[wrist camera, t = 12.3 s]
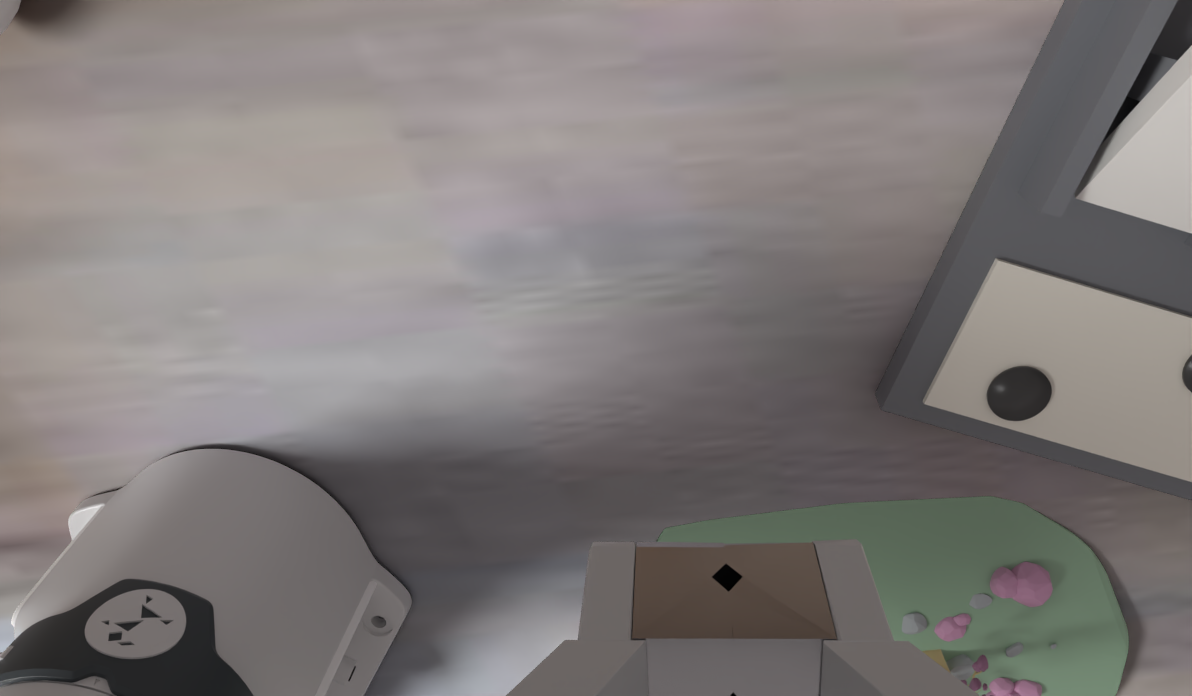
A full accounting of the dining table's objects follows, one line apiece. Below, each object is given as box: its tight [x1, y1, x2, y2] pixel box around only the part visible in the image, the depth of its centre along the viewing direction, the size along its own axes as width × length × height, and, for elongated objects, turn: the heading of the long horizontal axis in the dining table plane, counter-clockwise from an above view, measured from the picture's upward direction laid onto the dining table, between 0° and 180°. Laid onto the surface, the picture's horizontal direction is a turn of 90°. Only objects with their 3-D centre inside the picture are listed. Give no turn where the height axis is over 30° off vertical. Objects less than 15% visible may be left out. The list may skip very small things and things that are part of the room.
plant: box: [656, 496, 1129, 696], centre depth 44 cm, size 25×21×9 cm
